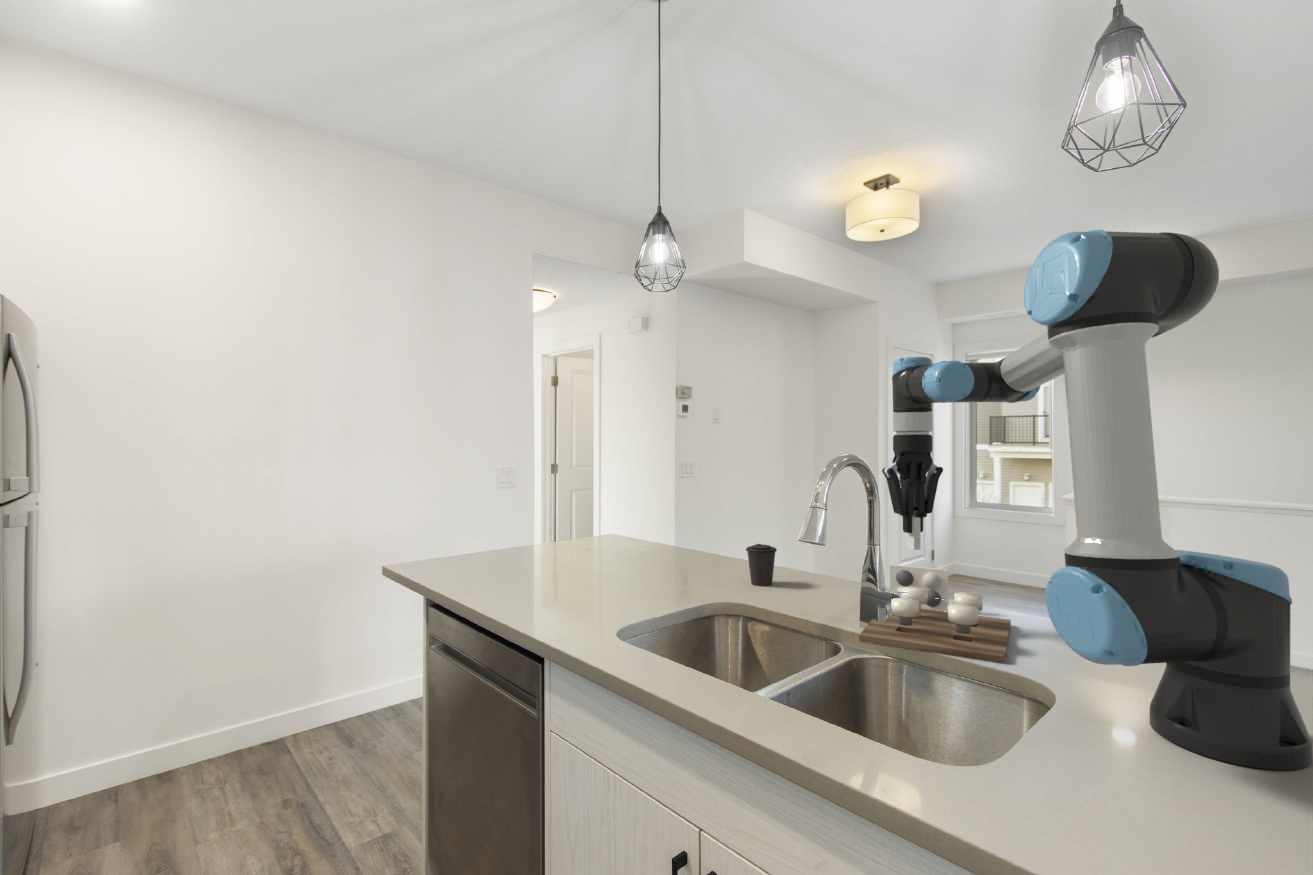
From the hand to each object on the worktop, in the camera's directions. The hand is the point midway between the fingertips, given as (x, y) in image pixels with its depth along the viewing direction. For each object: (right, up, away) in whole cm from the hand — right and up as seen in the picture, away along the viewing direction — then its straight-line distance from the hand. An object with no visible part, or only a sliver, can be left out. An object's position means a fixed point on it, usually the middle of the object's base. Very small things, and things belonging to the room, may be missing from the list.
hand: (913, 548), depth 130 cm
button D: (0, -13, 0) cm, 13 cm away
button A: (+4, -13, -14) cm, 19 cm away
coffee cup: (-25, -16, +35) cm, 46 cm away
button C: (+9, -13, -5) cm, 16 cm away
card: (+6, -15, +12) cm, 20 cm away
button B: (-5, -13, -9) cm, 16 cm away
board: (+2, -15, -7) cm, 17 cm away
